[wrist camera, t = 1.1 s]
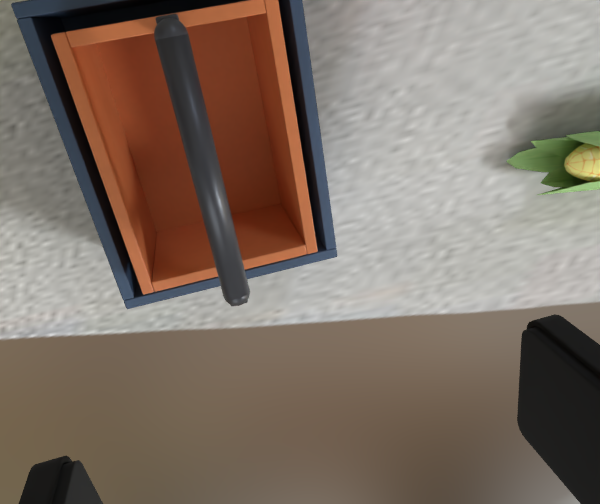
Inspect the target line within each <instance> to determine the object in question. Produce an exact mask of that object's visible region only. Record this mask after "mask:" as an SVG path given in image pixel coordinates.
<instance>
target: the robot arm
mask: <svg viewBox="0 0 600 504" xmlns="http://www.w3.org/2000/svg"><path fill="white" fill-rule="evenodd" d="M517 421H518V426H519V429H520V431H521V433H522V435H523V436H524V437H525V439H526V440H527V441H528V442H529V443H530V445H531V446H532V447H533V448H534V449H535V450H536V452H537V453H538V454H539V455H540V456H541V458H542V459H543V460H544V461H545V462H546V463H547V465H548V466H549V467H550V468H551V469H552V470H553V472H554V473H555V474H556V475H557V476H558V477H559V479H560V480H561V481H562V482H563V483H564V485H565V486H566V487H567V488H568V489H569V490H570V492H571V493H572V494H573V495H574V496H575V497H576V499H577V500H578V501H579V502H580V503H581V504H600V345H599V344H598V343H596V342H595V341H594V340H592V339H591V338H590V337H588V336H587V335H586V334H584V333H583V332H582V331H580V330H579V329H577V328H576V327H575V326H574V325H572V324H571V323H570V322H568V321H567V320H566V319H564V318H563V317H561V316H559V315H551V316H548V317H544V318H541V319H537V320H534V321H531V322H529V324H528V325H527V330H525V331H523V333H522V342H521V360H520V379H519V398H518V417H517ZM19 504H103V503H102V501H101V499H100V497H99V495H98V493H97V491H96V489H95V487H94V486H93V484H92V482H91V480H90V478H89V476H88V474H87V472H86V470H85V468H84V466H83V464H82V463H81V462H80V461H79V460H78V461H74V462H72V461H71V459H70V458H69V457H68V456H63V457H59V458H56V459H52V460H49V461H46V462H42V463H39V464H35V465H34V466H33V467H32V468H31V470H30V472H29V475H28V478H27V481H26V484H25V487H24V490H23V493H22V496H21V499H20V502H19Z"/></svg>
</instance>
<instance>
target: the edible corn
mask: <svg viewBox="0 0 600 504" xmlns="http://www.w3.org/2000/svg"><path fill="white" fill-rule="evenodd" d="M566 136H568V137H563V138H554V139H545V140H536V141H531V142H532V143H533V144H534V145H535V147H536V148H533V149H529V150H526V151H522V152H519V153H517V154H516V155H514V156H513V157H512V158H510V159H509V160H507V162H508V163H509V164H511V165H512V166H513V167H515V168H518V169H525V170H532V171H539V172H549V174H548V175H547V176H546V177H545V178H544V180H543V181H542V182H541V183H542V184H545V185H549V186H552V187H562V188H559V189H555V190H552V191H549V192H545V193H542V194H539V195H543V194H554V193H564V192H575V191H586V190H596V189H600V131H593V132H585V133H578V134H571V135H566Z"/></svg>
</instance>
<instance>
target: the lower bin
mask: <svg viewBox="0 0 600 504" xmlns="http://www.w3.org/2000/svg"><path fill="white" fill-rule="evenodd" d="M241 1H247V0H28V1H22V2H15V3H12V4H11V6H12V8H13V11H14V14H15V16H16V18H17V22H18V24H19V27H20V30H21V32H22V35H23V38H24V40H25V43H26V45H27V48H28V51H29V53H30V56H31V59H32V61H33V64H34V66H35V69H36V72H37V74H38V77H39V80H40V82H41V85H42V88H43V90H44V93H45V95H46V98H47V101H48V103H49V106H50V109H51V111H52V114H53V116H54V119H55V122H56V124H57V127H58V130H59V132H60V135H61V138H62V140H63V143H64V145H65V148H66V151H67V153H68V156H69V159H70V161H71V164H72V166H73V169H74V172H75V174H76V177H77V180H78V182H79V185H80V188H81V190H82V193H83V195H84V198H85V201H86V203H87V206H88V209H89V211H90V214H91V216H92V219H93V222H94V224H95V227H96V230H97V232H98V235H99V238H100V240H101V243H102V245H103V248H104V251H105V253H106V256H107V259H108V261H109V264H110V266H111V269H112V272H113V274H114V277H115V280H116V282H117V285H118V288H119V290H120V293H121V295H122V298H123V300H124V303H125V306H126V308H127V309H130V308H134V307H138V306H142V305H146V304H150V303H154V302H158V301H162V300H166V299H170V298H174V297H178V296H182V295H186V294H190V293H194V292H198V291H202V290H206V289H210V288H214V287H218V286H221V285H220V281H219V277H218V276H217V277H213V278H209V279H205V280H201V281H197V282H193V283H189V284H185V285H181V286H177V287H173V288H168V289H164V290H160V291H156V292H155V291H154V292H152V293H148V294H143V293H142V291H141V288H140V285H139V282H138V279H137V277H136V274H135V271H134V268H133V265H132V263H131V260H130V257H129V254H128V251H127V248H126V246H125V243H124V240H123V237H122V234H121V232H120V229H119V226H118V223H117V220H116V218H115V215H114V212H113V209H112V206H111V204H110V201H109V198H108V195H107V192H106V190H105V187H104V184H103V181H102V178H101V176H100V173H99V170H98V167H97V164H96V161H95V159H94V156H93V153H92V150H91V147H90V145H89V142H88V139H87V136H86V133H85V131H84V128H83V125H82V122H81V119H80V117H79V114H78V111H77V108H76V105H75V103H74V100H73V97H72V94H71V91H70V89H69V86H68V83H67V80H66V77H65V74H64V72H63V69H62V66H61V63H60V60H59V58H58V55H57V52H56V49H55V46H54V44H53V41H52V38H51V35H52V34H56V33H62V32H67V31H73V30H79V29H85V28H91V27H96V26H102V25H108V24H114V23H120V22H125V21H131V20H137V19H143V18H149V17H154V16H160V15H166V14H172V13H178V12H183V11H189V10H195V9H201V8H207V7H212V6H218V5H224V4H230V3H236V2H241ZM278 3H279V9H280V16H281V22H282V28H283V35H284V41H285V47H286V54H287V60H288V66H289V73H290V79H291V85H292V92H293V98H294V104H295V111H296V117H297V123H298V130H299V136H300V142H301V149H302V155H303V161H304V168H305V174H306V180H307V187H308V193H309V199H310V206H311V212H312V218H313V225H314V231H315V237H316V244H317V250H318V251H317V252H315V253H310V254H306V255H302V256H298V257H294V258H290V259H286V260H282V261H278V262H274V263H270V264H265V265H261V266H257V267H253V268H249V269H245V273H246V277H247V279H250V278H254V277H258V276H262V275H266V274H270V273H274V272H278V271H282V270H286V269H290V268H294V267H298V266H302V265H306V264H310V263H314V262H318V261H322V260H326V259H330V258H334V257H337V250H336V242H335V235H334V228H333V220H332V213H331V206H330V199H329V191H328V184H327V177H326V170H325V162H324V155H323V148H322V141H321V133H320V126H319V119H318V112H317V104H316V97H315V90H314V83H313V76H312V68H311V61H310V54H309V47H308V39H307V32H306V25H305V18H304V10H303V3H302V0H278Z"/></svg>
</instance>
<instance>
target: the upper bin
mask: <svg viewBox="0 0 600 504" xmlns="http://www.w3.org/2000/svg"><path fill="white" fill-rule="evenodd" d="M51 38H52V41H53V44H54V46H55V49H56V52H57V55H58V58H59V60H60V63H61V66H62V69H63V72H64V74H65V77H66V80H67V83H68V86H69V89H70V91H71V94H72V97H73V100H74V103H75V105H76V108H77V111H78V114H79V117H80V119H81V122H82V125H83V128H84V131H85V133H86V136H87V139H88V142H89V145H90V147H91V150H92V153H93V156H94V159H95V161H96V164H97V167H98V170H99V173H100V176H101V178H102V181H103V184H104V187H105V190H106V192H107V195H108V198H109V201H110V204H111V206H112V209H113V212H114V215H115V218H116V220H117V223H118V226H119V229H120V232H121V234H122V237H123V240H124V243H125V246H126V248H127V251H128V254H129V257H130V260H131V263H132V265H133V268H134V271H135V274H136V277H137V279H138V282H139V285H140V288H141V291H142V293H143V294H148V293H152V292H154V291H155V292H156V291H160V290H164V289H168V288H173V287H177V286H181V285H185V284H189V283H193V282H197V281H201V280H205V279H209V278H213V277H217V276H218V277H219V281H220V285H221V288H222V292H223V296H224V298H225V300H226V301H227V302H228V303H229V304H230V305H231V306H239V305H242V304H244V303H247V301H248V300H247V299H248V298H249V294H250V291H249V286H248V282H247V277H246V273H245V269H249V268H253V267H257V266H261V265H265V264H270V263H274V262H278V261H282V260H286V259H290V258H294V257H298V256H302V255H306V254H310V253H315V252H317V251H318V250H317V244H316V237H315V231H314V225H313V218H312V212H311V206H310V199H309V193H308V187H307V180H306V174H305V168H304V161H303V155H302V149H301V142H300V136H299V130H298V123H297V117H296V111H295V104H294V98H293V92H292V85H291V79H290V73H289V66H288V60H287V54H286V47H285V41H284V35H283V28H282V22H281V16H280V9H279V3H278V0H247V1H241V2H236V3H230V4H224V5H218V6H212V7H207V8H201V9H195V10H189V11H183V12H178V13H172V14H166V15H160V16H154V17H149V18H143V19H137V20H131V21H125V22H120V23H114V24H108V25H102V26H96V27H91V28H85V29H79V30H73V31H67V32H62V33H56V34H52V35H51Z"/></svg>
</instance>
